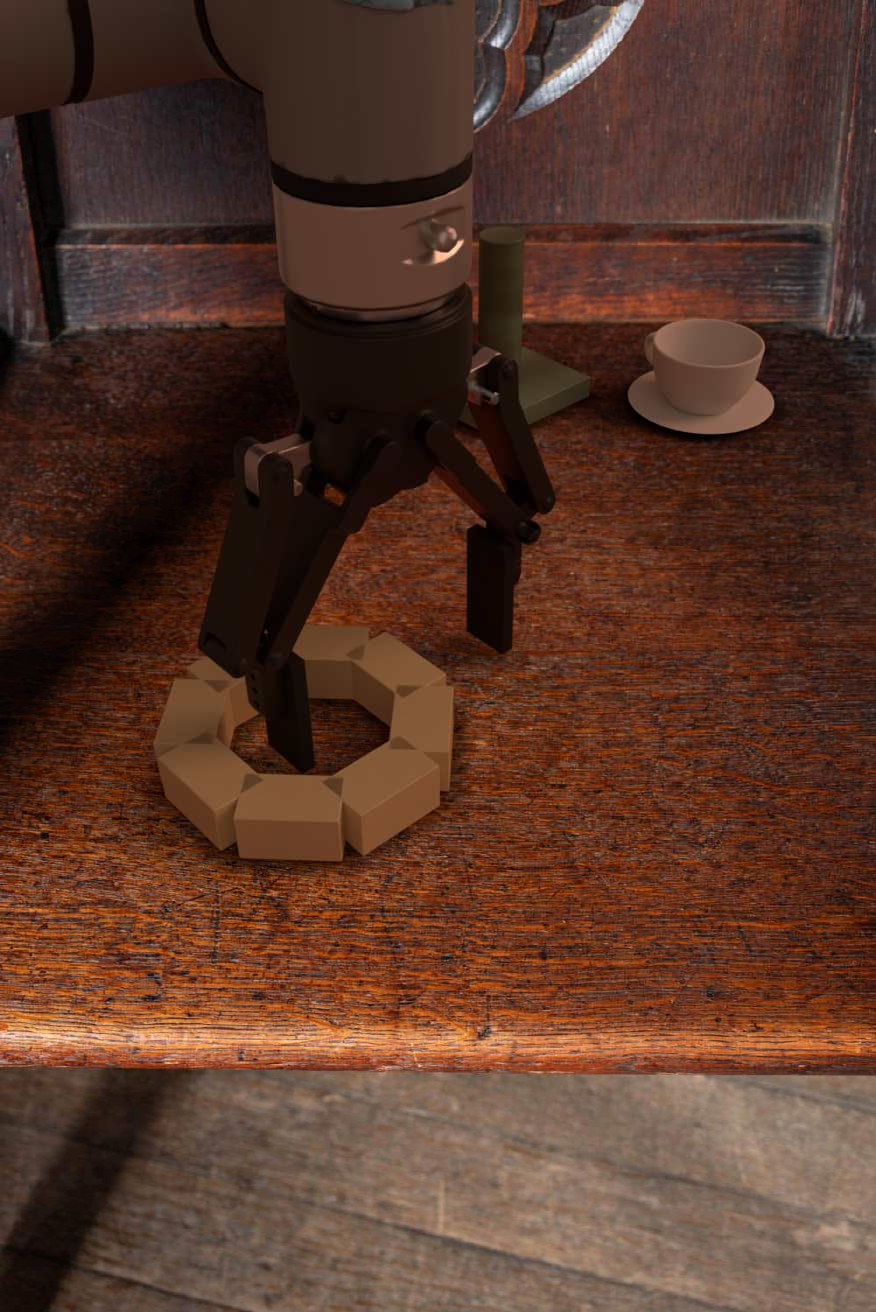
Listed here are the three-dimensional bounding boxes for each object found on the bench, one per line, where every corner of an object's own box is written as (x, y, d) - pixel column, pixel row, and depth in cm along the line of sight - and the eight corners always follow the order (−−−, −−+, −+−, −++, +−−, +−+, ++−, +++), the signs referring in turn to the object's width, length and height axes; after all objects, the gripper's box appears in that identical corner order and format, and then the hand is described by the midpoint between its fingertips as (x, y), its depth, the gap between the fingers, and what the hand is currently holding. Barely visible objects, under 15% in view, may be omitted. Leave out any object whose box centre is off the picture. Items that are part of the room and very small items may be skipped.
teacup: (801, 404, 87) (813, 341, 84) (716, 456, 82) (725, 391, 79) (684, 358, 93) (692, 297, 90) (597, 404, 87) (602, 342, 84)
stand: (408, 393, 89) (404, 233, 82) (500, 354, 94) (503, 199, 86) (497, 440, 84) (500, 273, 76) (589, 396, 88) (600, 235, 81)
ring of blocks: (114, 747, 61) (105, 708, 60) (334, 630, 68) (330, 591, 66) (281, 911, 53) (275, 870, 52) (510, 759, 60) (511, 719, 59)
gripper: (163, 422, 41) (237, 861, 55) (654, 229, 54) (615, 626, 67) (50, 347, 45) (145, 772, 59) (529, 185, 58) (516, 566, 71)
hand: (395, 695), depth 63 cm, fingers open, 12 cm apart
